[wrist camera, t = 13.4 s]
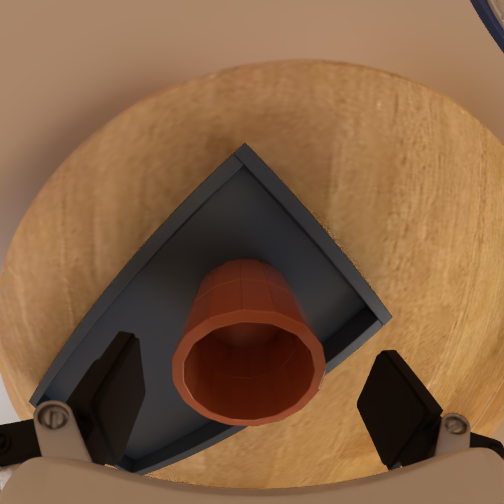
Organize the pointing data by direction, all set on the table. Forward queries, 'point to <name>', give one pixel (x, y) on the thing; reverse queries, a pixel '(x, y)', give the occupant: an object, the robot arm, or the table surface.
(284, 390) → the flower pot
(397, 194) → the table surface
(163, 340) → the tray
